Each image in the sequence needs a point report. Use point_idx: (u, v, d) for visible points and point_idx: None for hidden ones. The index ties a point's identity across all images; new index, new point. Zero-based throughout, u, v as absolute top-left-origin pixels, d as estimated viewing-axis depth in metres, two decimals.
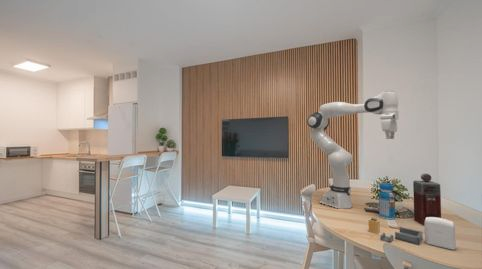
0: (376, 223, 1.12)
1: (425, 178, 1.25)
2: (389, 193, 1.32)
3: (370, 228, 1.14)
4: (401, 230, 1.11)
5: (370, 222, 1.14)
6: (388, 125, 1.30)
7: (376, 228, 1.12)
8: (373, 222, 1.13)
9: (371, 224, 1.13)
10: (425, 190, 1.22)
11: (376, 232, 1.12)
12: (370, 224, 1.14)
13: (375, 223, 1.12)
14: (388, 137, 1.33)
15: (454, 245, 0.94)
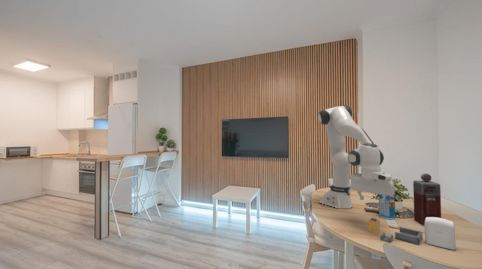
0: (376, 223, 1.12)
1: (425, 178, 1.25)
2: None
3: (370, 228, 1.14)
4: (401, 230, 1.11)
5: (370, 222, 1.14)
6: (394, 188, 1.08)
7: (376, 228, 1.12)
8: (373, 222, 1.13)
9: (371, 224, 1.13)
10: (425, 190, 1.22)
11: (376, 232, 1.12)
12: (370, 224, 1.14)
13: (375, 223, 1.12)
14: (383, 201, 1.11)
15: (454, 245, 0.94)
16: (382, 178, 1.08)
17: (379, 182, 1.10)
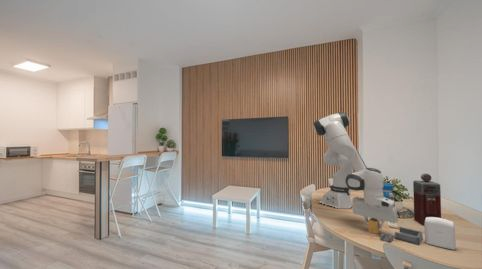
0: (376, 223, 1.12)
1: (425, 178, 1.25)
2: (389, 193, 1.32)
3: (370, 228, 1.14)
4: (401, 230, 1.11)
5: (370, 222, 1.14)
6: (397, 215, 1.08)
7: (376, 228, 1.12)
8: (373, 222, 1.13)
9: (371, 224, 1.13)
10: (425, 190, 1.22)
11: (376, 232, 1.12)
12: (370, 224, 1.14)
13: (375, 222, 1.12)
14: (381, 226, 1.12)
15: (454, 245, 0.94)
16: (385, 205, 1.08)
17: (382, 208, 1.10)
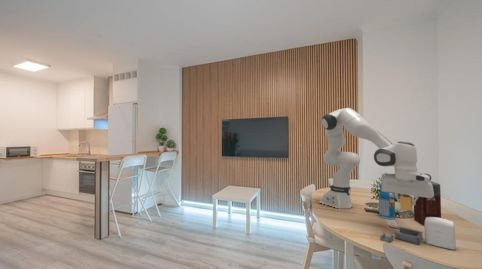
0: (409, 199, 1.04)
1: None
2: (389, 193, 1.32)
3: (402, 205, 1.06)
4: (401, 230, 1.11)
5: (402, 198, 1.06)
6: (433, 190, 1.01)
7: (409, 204, 1.04)
8: (406, 198, 1.05)
9: (403, 200, 1.06)
10: None
11: (409, 209, 1.04)
12: (402, 200, 1.06)
13: (408, 199, 1.05)
14: (415, 203, 1.04)
15: (454, 245, 0.94)
16: (420, 179, 1.00)
17: (416, 183, 1.02)
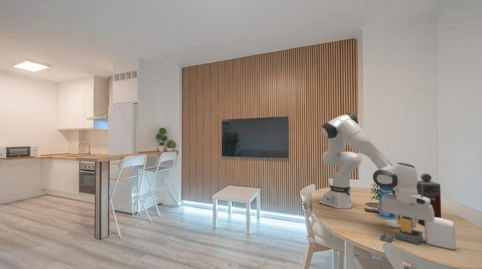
0: (410, 221, 1.04)
1: (425, 178, 1.25)
2: (389, 193, 1.32)
3: (403, 227, 1.06)
4: None
5: (402, 220, 1.06)
6: (433, 213, 1.00)
7: (410, 227, 1.04)
8: (406, 220, 1.05)
9: (404, 222, 1.05)
10: (425, 190, 1.22)
11: (410, 231, 1.04)
12: (402, 222, 1.06)
13: (408, 221, 1.04)
14: (415, 225, 1.04)
15: (454, 245, 0.94)
16: (421, 202, 1.00)
17: (417, 206, 1.02)
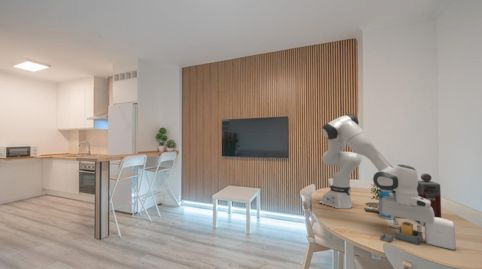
0: (410, 227, 1.04)
1: (425, 178, 1.25)
2: (389, 193, 1.32)
3: (403, 233, 1.06)
4: None
5: (403, 226, 1.06)
6: None
7: (410, 233, 1.04)
8: (407, 226, 1.05)
9: (404, 228, 1.06)
10: (425, 190, 1.22)
11: None
12: (403, 228, 1.06)
13: (409, 227, 1.04)
14: (421, 228, 1.03)
15: (454, 245, 0.94)
16: (421, 204, 1.00)
17: (417, 208, 1.02)
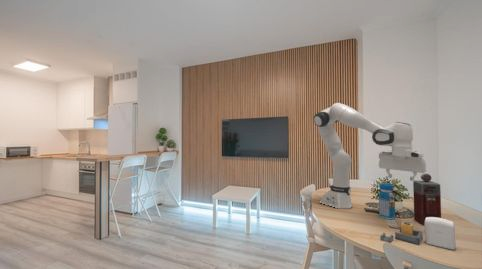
0: (410, 227, 1.04)
1: (425, 178, 1.25)
2: (389, 193, 1.32)
3: (403, 233, 1.06)
4: None
5: (403, 226, 1.06)
6: (425, 166, 1.10)
7: (410, 233, 1.04)
8: (407, 226, 1.05)
9: (404, 228, 1.06)
10: (425, 190, 1.22)
11: None
12: (403, 228, 1.06)
13: (409, 227, 1.04)
14: (413, 178, 1.13)
15: (454, 245, 0.94)
16: (415, 155, 1.10)
17: (411, 160, 1.12)
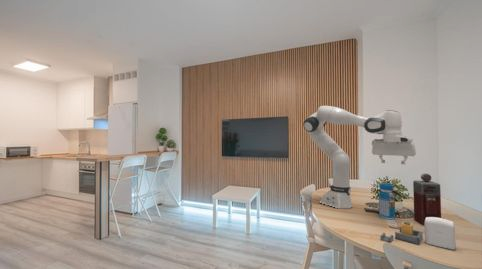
0: (410, 227, 1.04)
1: (425, 178, 1.25)
2: (389, 193, 1.32)
3: (403, 233, 1.06)
4: None
5: (403, 226, 1.06)
6: None
7: (410, 233, 1.04)
8: (407, 226, 1.05)
9: (404, 228, 1.06)
10: (425, 190, 1.22)
11: None
12: (403, 228, 1.06)
13: (409, 227, 1.04)
14: (404, 162, 1.20)
15: (454, 245, 0.94)
16: (404, 140, 1.17)
17: (401, 144, 1.19)
